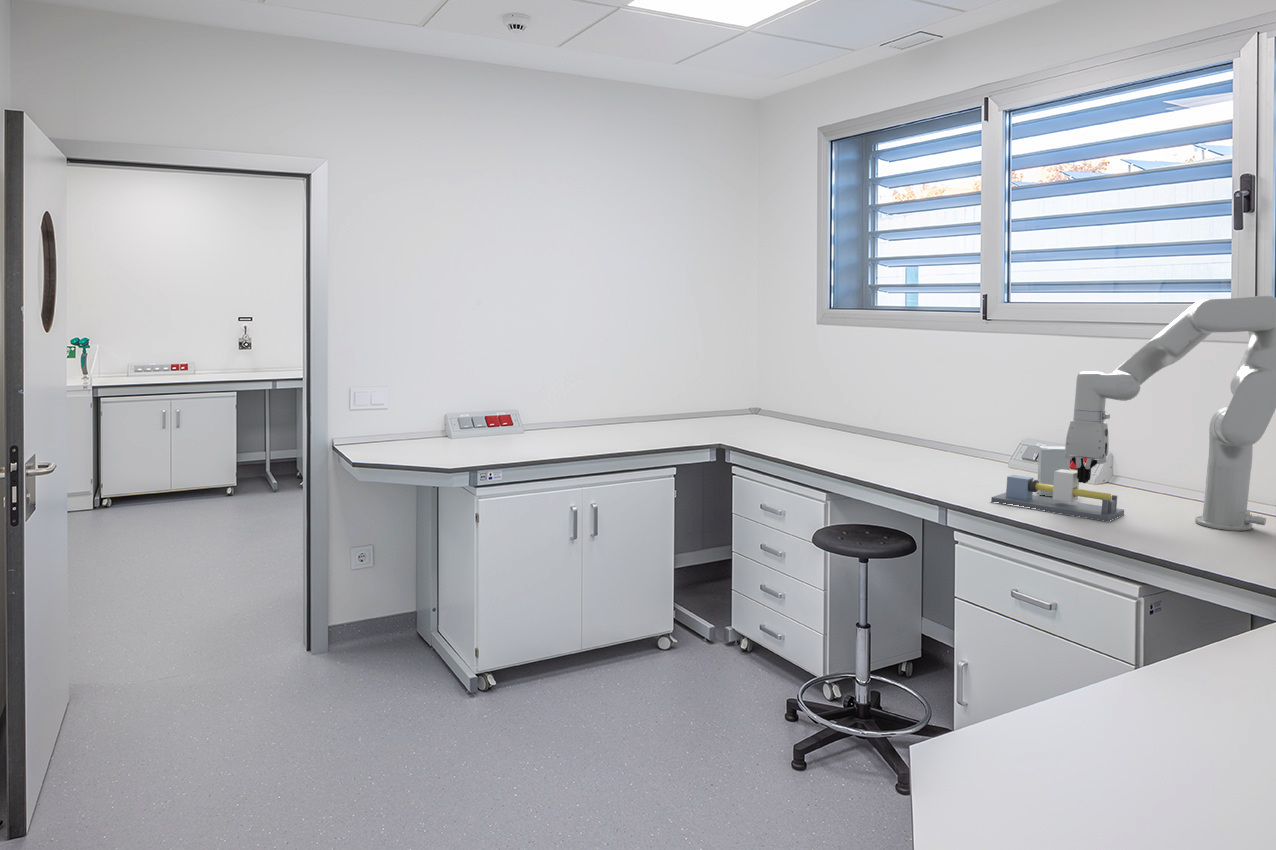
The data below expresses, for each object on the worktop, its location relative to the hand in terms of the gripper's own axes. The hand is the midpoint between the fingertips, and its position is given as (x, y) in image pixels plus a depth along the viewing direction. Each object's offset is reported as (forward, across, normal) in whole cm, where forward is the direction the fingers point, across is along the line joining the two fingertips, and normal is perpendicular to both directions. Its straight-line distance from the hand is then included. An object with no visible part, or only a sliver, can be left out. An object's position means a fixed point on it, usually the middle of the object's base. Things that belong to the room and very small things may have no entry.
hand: (1083, 482), depth 247 cm
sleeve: (+6, +5, 0) cm, 7 cm away
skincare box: (+9, +15, -18) cm, 25 cm away
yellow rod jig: (+9, +7, 0) cm, 11 cm away
